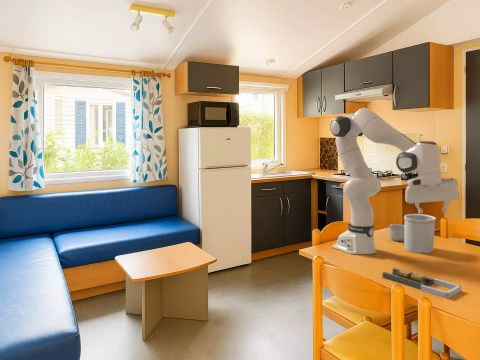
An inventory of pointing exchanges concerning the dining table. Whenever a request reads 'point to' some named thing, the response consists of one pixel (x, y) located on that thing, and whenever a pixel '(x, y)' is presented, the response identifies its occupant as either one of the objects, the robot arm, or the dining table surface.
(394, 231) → the teacup
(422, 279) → the yellow cube
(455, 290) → the tray
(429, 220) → the utensil holder
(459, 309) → the dining table surface
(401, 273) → the tan yellow cube
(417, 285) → the slot bed
